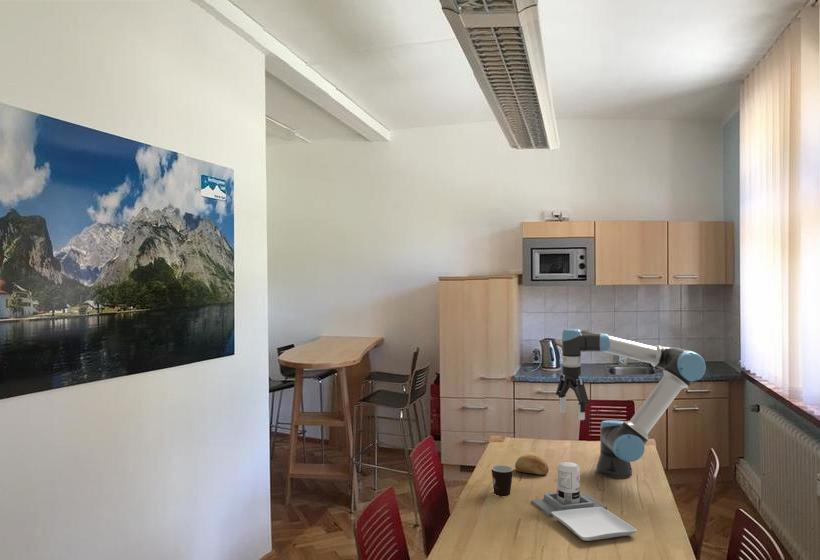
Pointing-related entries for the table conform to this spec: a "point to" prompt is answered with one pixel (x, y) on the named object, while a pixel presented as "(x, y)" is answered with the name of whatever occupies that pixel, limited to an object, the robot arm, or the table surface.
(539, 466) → the bread roll
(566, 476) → the supplement can
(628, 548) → the table surface
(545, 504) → the dock
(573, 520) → the salad plate
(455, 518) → the table surface
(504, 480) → the coffee mug
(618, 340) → the robot arm
